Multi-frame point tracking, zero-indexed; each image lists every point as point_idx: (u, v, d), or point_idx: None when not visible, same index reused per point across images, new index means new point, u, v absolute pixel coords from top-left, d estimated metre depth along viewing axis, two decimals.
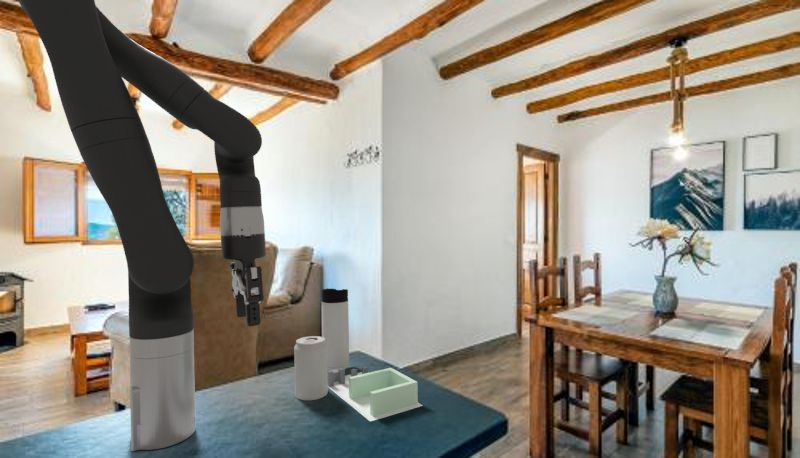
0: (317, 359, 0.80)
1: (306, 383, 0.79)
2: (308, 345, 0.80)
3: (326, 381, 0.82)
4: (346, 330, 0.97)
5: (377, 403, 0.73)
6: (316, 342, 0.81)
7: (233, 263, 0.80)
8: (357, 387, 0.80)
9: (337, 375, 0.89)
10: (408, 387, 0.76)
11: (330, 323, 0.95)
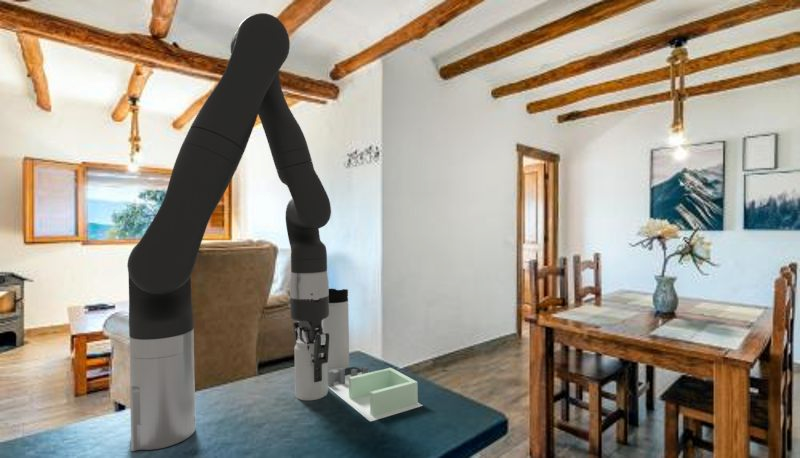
0: None
1: (306, 383, 0.79)
2: (308, 345, 0.80)
3: (326, 381, 0.82)
4: (346, 330, 0.97)
5: (377, 403, 0.73)
6: None
7: (296, 322, 0.87)
8: (357, 387, 0.80)
9: (337, 375, 0.89)
10: (408, 387, 0.76)
11: (330, 323, 0.95)
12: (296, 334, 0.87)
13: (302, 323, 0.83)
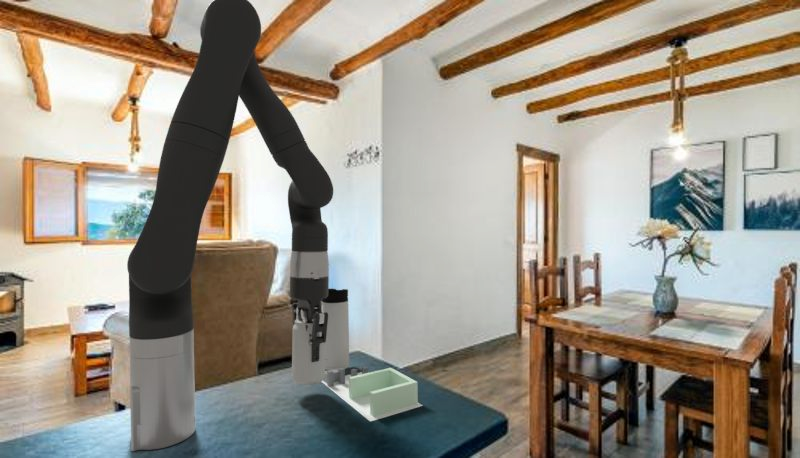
0: None
1: (304, 363, 0.79)
2: None
3: (324, 362, 0.82)
4: (346, 330, 0.97)
5: (377, 403, 0.73)
6: None
7: (295, 303, 0.87)
8: (357, 387, 0.80)
9: (337, 375, 0.89)
10: (408, 387, 0.76)
11: (330, 323, 0.95)
12: (295, 315, 0.86)
13: (301, 303, 0.83)
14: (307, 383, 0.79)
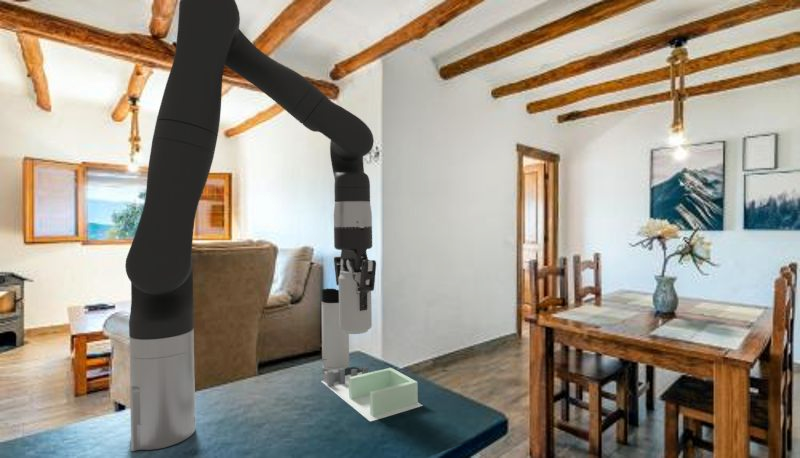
0: None
1: (352, 311, 0.79)
2: None
3: (370, 312, 0.82)
4: None
5: (377, 403, 0.73)
6: None
7: (337, 257, 0.87)
8: (357, 387, 0.80)
9: (337, 375, 0.89)
10: (408, 387, 0.76)
11: (330, 323, 0.95)
12: (337, 268, 0.86)
13: (345, 255, 0.83)
14: (356, 332, 0.80)
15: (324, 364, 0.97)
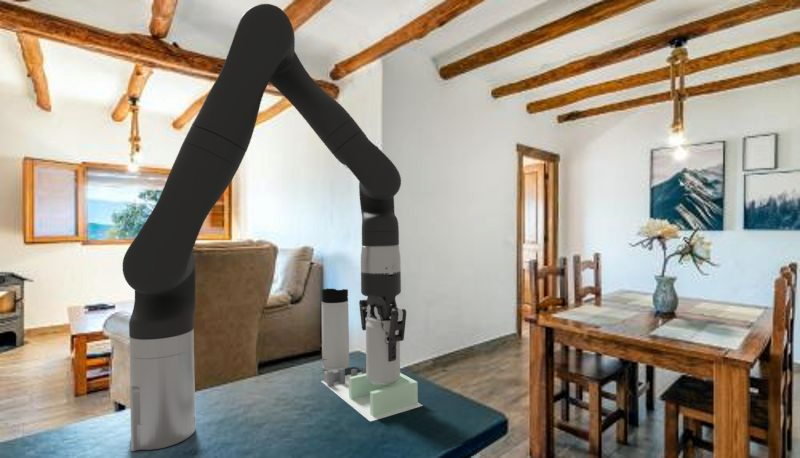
0: None
1: (381, 362, 0.75)
2: (382, 322, 0.76)
3: (399, 361, 0.78)
4: (346, 330, 0.97)
5: (377, 403, 0.73)
6: None
7: (362, 300, 0.83)
8: (357, 387, 0.80)
9: (337, 375, 0.89)
10: (408, 387, 0.76)
11: (330, 323, 0.95)
12: (363, 313, 0.83)
13: (372, 300, 0.79)
14: (385, 383, 0.76)
15: (324, 364, 0.97)
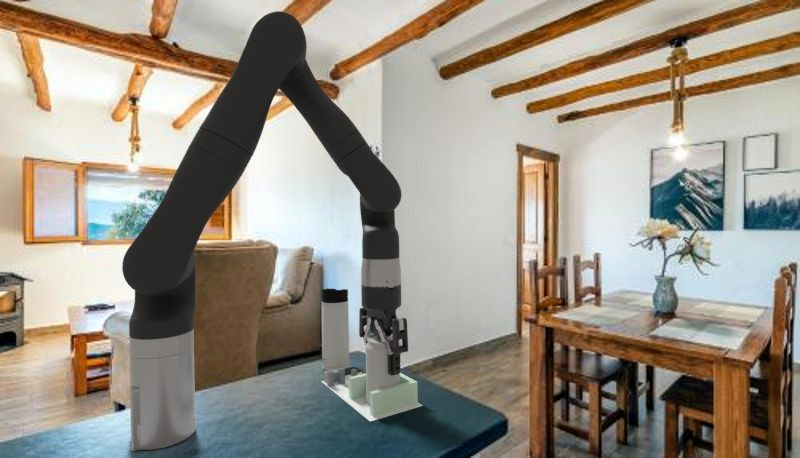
0: None
1: (379, 384, 0.75)
2: (381, 344, 0.75)
3: (399, 383, 0.77)
4: (346, 330, 0.97)
5: (377, 403, 0.73)
6: None
7: (363, 309, 0.83)
8: (357, 387, 0.80)
9: (337, 375, 0.89)
10: (408, 387, 0.76)
11: (330, 323, 0.95)
12: (362, 321, 0.83)
13: (373, 313, 0.79)
14: None
15: (324, 364, 0.97)
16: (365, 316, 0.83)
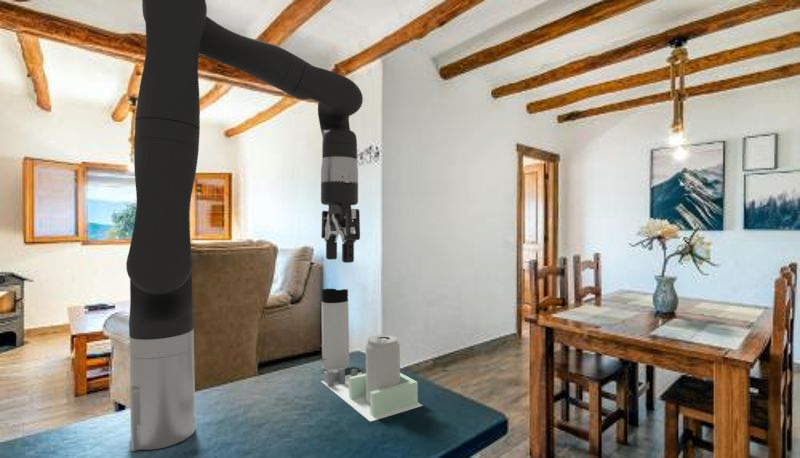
0: (390, 360, 0.75)
1: (379, 384, 0.75)
2: (381, 344, 0.75)
3: (399, 383, 0.77)
4: (346, 330, 0.97)
5: (377, 403, 0.73)
6: (389, 341, 0.76)
7: (325, 211, 0.90)
8: (357, 387, 0.80)
9: (337, 375, 0.89)
10: (408, 387, 0.76)
11: (330, 323, 0.95)
12: (324, 222, 0.89)
13: (332, 210, 0.85)
14: None
15: (324, 364, 0.97)
16: (326, 218, 0.89)
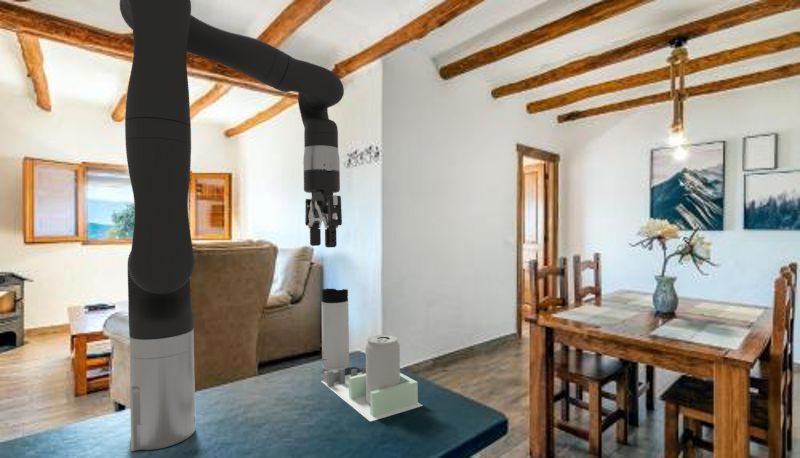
0: (390, 360, 0.75)
1: (379, 384, 0.75)
2: (381, 344, 0.75)
3: (399, 383, 0.77)
4: (346, 330, 0.97)
5: (377, 403, 0.73)
6: (389, 341, 0.76)
7: (308, 199, 0.93)
8: (357, 387, 0.80)
9: (337, 375, 0.89)
10: (408, 387, 0.76)
11: (330, 323, 0.95)
12: (307, 210, 0.92)
13: (314, 198, 0.89)
14: None
15: (324, 364, 0.97)
16: (310, 205, 0.92)
